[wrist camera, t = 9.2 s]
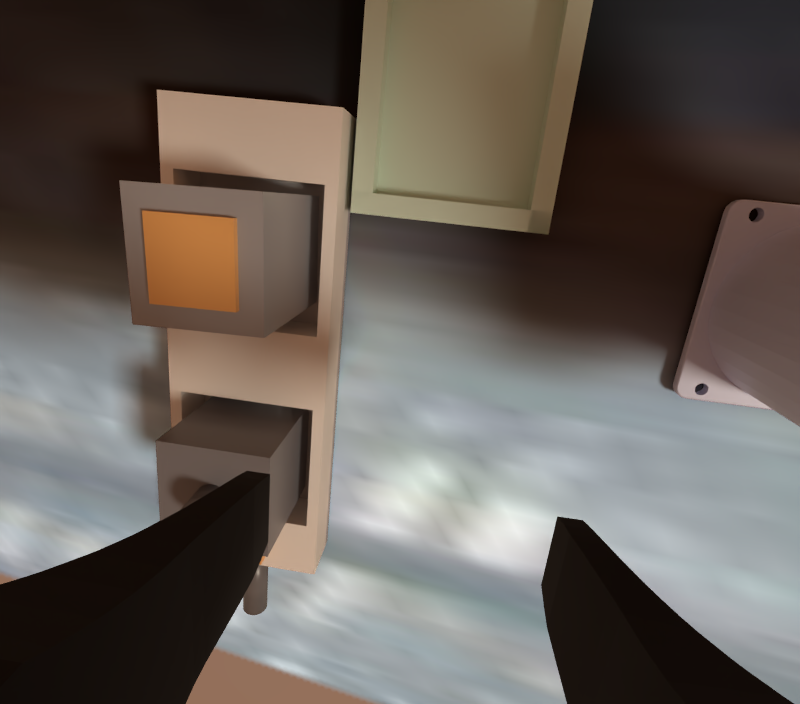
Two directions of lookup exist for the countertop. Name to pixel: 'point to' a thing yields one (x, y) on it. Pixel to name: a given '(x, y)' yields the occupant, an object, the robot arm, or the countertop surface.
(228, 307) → the plug
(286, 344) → the power strip
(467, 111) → the tray
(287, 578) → the countertop surface
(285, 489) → the seated twin plug
